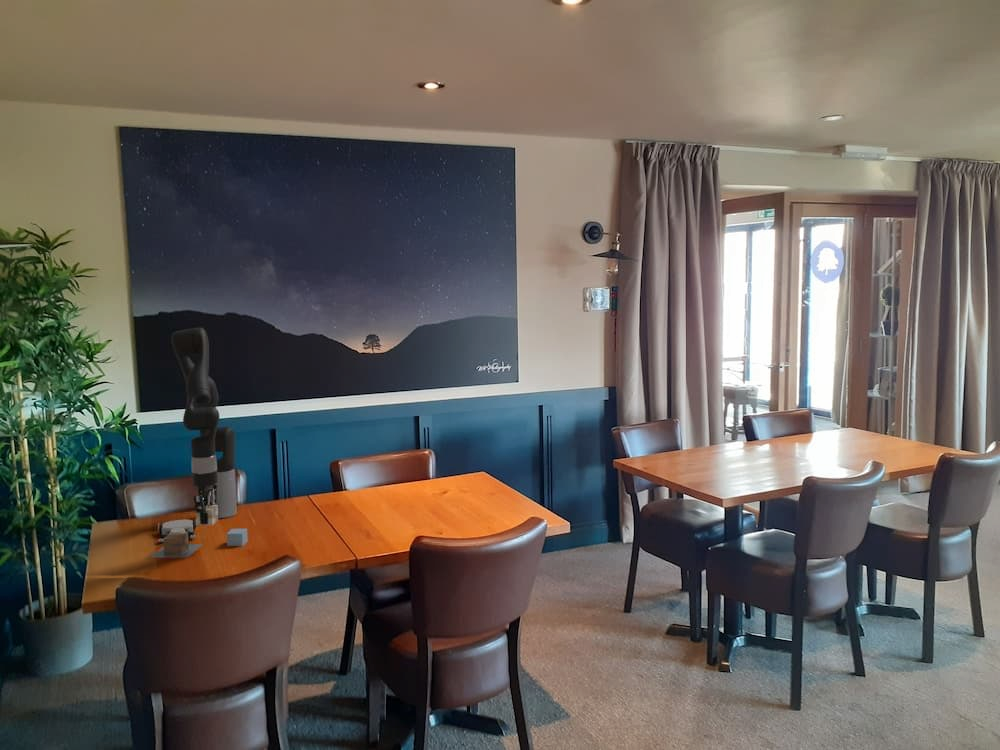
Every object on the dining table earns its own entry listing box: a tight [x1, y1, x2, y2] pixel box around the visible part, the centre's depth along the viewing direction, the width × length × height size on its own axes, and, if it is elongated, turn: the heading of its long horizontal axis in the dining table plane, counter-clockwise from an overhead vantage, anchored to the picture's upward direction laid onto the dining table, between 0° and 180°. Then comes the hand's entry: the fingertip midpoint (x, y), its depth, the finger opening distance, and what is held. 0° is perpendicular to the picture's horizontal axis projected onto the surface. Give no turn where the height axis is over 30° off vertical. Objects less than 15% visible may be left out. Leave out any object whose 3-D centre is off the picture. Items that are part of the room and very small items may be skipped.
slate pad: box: [148, 543, 203, 559], centre depth 238 cm, size 12×12×1 cm
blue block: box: [226, 528, 249, 549], centre depth 244 cm, size 5×5×5 cm
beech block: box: [195, 505, 219, 526], centre depth 239 cm, size 5×5×5 cm
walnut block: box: [162, 533, 189, 554], centre depth 237 cm, size 6×6×5 cm
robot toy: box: [157, 519, 198, 543], centre depth 252 cm, size 12×4×15 cm
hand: (207, 520), depth 239 cm, fingers closed on beech block, 5 cm apart
